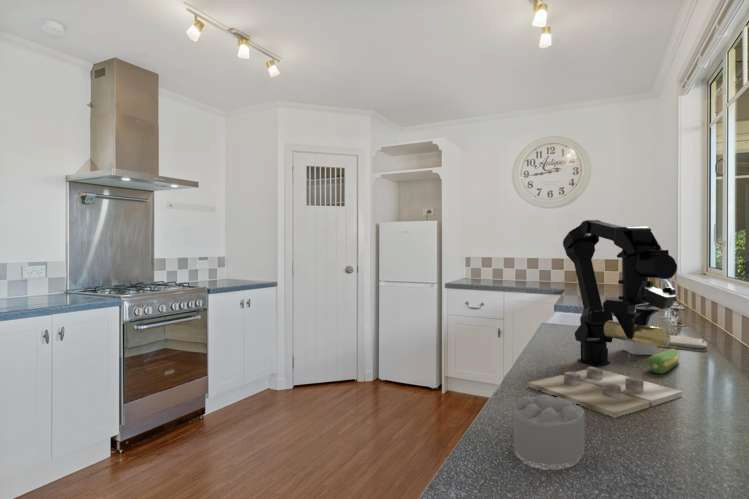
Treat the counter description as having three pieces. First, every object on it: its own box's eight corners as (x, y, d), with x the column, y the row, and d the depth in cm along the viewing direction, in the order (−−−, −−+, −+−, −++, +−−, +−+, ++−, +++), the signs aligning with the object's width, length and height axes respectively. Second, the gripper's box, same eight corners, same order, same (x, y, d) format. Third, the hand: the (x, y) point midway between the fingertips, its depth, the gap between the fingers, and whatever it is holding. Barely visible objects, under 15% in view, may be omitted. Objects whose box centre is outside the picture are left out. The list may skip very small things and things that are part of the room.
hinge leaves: (528, 387, 107) (528, 372, 107) (593, 371, 119) (593, 358, 119) (614, 418, 88) (614, 400, 88) (682, 396, 100) (682, 380, 99)
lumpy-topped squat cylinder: (590, 448, 75) (590, 398, 75) (565, 479, 65) (565, 422, 65) (531, 431, 82) (531, 386, 82) (500, 457, 72) (500, 405, 72)
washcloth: (708, 353, 139) (708, 344, 138) (642, 346, 149) (642, 337, 149) (706, 346, 148) (706, 337, 148) (644, 340, 159) (644, 331, 159)
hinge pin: (603, 338, 115) (603, 321, 115) (613, 335, 118) (613, 319, 117) (660, 348, 103) (660, 329, 103) (670, 346, 105) (670, 327, 105)
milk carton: (645, 349, 142) (645, 291, 142) (657, 355, 135) (657, 294, 135) (622, 349, 143) (622, 291, 143) (633, 355, 136) (633, 294, 136)
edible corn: (641, 357, 118) (660, 355, 115) (666, 347, 131) (683, 345, 128) (647, 376, 117) (666, 375, 114) (671, 365, 130) (689, 363, 127)
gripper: (647, 280, 99) (648, 348, 99) (689, 276, 108) (689, 339, 108) (601, 277, 108) (601, 339, 108) (643, 274, 118) (643, 331, 118)
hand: (635, 337), depth 110 cm, fingers closed on hinge pin, 4 cm apart
